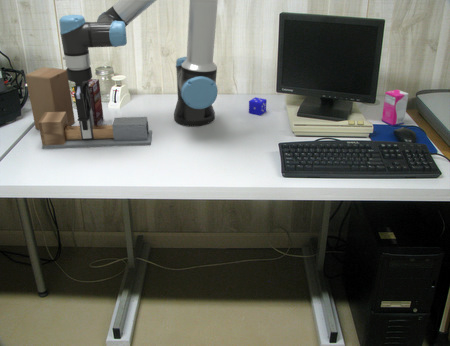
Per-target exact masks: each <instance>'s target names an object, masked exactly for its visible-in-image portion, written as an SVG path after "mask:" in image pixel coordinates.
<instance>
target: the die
mask: <svg viewBox="0 0 450 346" xmlns="http://www.w3.org/2000/svg"><path fill="white" fill-rule="evenodd" d="M266 112H267V98H266V99H265V98H261V97H253V98H252V99H250V100H249V101H248V114H251V115H256V116H262V115H263V114H264V113H266Z"/></svg>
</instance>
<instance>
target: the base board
mask: <svg viewBox="0 0 450 346" xmlns="http://www.w3.org/2000/svg"><path fill="white" fill-rule="evenodd" d="M148 130H149V134H147V137H148V140H145V141H114V138H103V139H90V140H82V139H71V140H65V141H66V142H65V144H64V145H42V144H41V147H42V149H45V150H46V149H48V150H49V149H73V148H74V149H77V148H78V149H81V148H104V147H107V148H109V147H136V146H139V147H140V146H151V144H152V143H151V142H152V135H153V130H150V129H148Z"/></svg>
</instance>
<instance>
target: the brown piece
mask: <svg viewBox="0 0 450 346" xmlns="http://www.w3.org/2000/svg"><path fill="white" fill-rule="evenodd" d="M87 113H88V119H89V122H90V129H91V136H92V138H86V139H83V135H82V128H81V122H80V121H78V123H79V125H70V126H65V127H64V135H65V140H71V139H82V140H90V139H103V138H114V136H113V128H112V124H101V125H94V119H93V112H92V107H87Z"/></svg>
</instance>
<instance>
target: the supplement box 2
mask: <svg viewBox="0 0 450 346" xmlns="http://www.w3.org/2000/svg"><path fill="white" fill-rule="evenodd" d="M408 98H409V93H408V92H405V91H403V90H399V89H392V90H389V91H385V94H384V101H383V108H382V117H381V122H383V123H385V124H387V125H388V126H391V127H395V126H398V125H399V126H400V125H404V124H405V119H406V112H407V111H406V110H407V106H408Z"/></svg>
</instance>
